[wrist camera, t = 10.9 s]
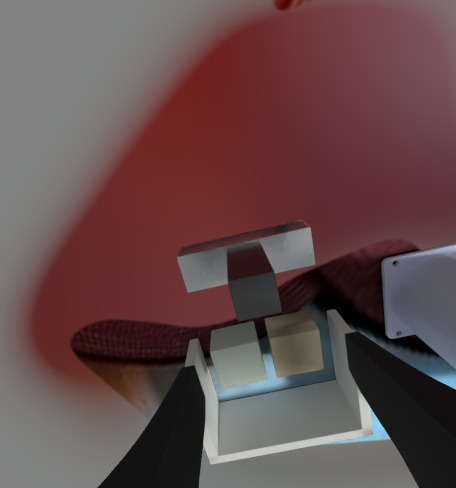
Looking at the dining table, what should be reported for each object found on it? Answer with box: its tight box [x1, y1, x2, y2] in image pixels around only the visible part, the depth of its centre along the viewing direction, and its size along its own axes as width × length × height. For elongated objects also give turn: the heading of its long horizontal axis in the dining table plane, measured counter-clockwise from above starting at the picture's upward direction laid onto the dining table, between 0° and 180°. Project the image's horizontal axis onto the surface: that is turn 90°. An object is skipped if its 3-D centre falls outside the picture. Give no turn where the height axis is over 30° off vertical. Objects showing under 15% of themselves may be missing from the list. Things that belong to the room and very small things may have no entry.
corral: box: [185, 309, 373, 464], centre depth 22 cm, size 14×9×5 cm, turn 103°
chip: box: [264, 310, 324, 378], centre depth 22 cm, size 4×4×3 cm
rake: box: [177, 220, 316, 321], centre depth 18 cm, size 10×3×8 cm, turn 103°
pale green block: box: [210, 321, 267, 389], centre depth 23 cm, size 4×4×3 cm
